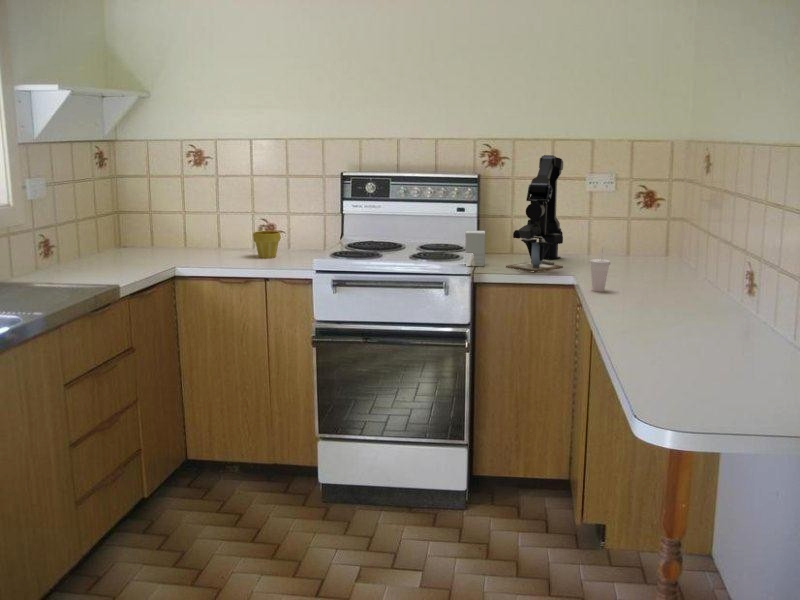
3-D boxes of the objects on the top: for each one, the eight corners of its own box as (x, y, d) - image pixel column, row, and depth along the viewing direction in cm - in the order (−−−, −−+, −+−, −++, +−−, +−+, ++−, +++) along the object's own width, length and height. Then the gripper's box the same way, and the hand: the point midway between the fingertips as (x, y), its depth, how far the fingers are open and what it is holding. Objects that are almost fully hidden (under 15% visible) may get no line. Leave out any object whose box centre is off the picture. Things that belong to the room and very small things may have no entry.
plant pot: (259, 259, 319) (258, 234, 317) (250, 256, 328) (249, 231, 326) (284, 258, 324) (284, 233, 322) (274, 254, 333) (274, 229, 331)
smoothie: (597, 293, 262) (599, 249, 259) (583, 289, 268) (586, 246, 265) (612, 291, 265) (615, 247, 262) (599, 288, 271) (602, 245, 268)
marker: (535, 266, 305) (536, 241, 304) (543, 268, 303) (544, 242, 301) (528, 267, 303) (529, 242, 301) (536, 269, 300) (538, 243, 298)
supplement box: (484, 263, 316) (485, 230, 314) (484, 266, 309) (485, 232, 306) (465, 263, 317) (465, 230, 314) (464, 266, 310) (465, 232, 307)
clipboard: (533, 262, 319) (533, 259, 319) (562, 267, 309) (563, 264, 309) (505, 267, 308) (505, 263, 308) (535, 272, 298) (535, 268, 298)
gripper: (503, 216, 300) (502, 258, 304) (545, 220, 287) (543, 265, 290) (523, 214, 308) (521, 255, 311) (565, 218, 294) (562, 262, 298)
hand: (536, 259), depth 302 cm, fingers closed on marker, 4 cm apart
